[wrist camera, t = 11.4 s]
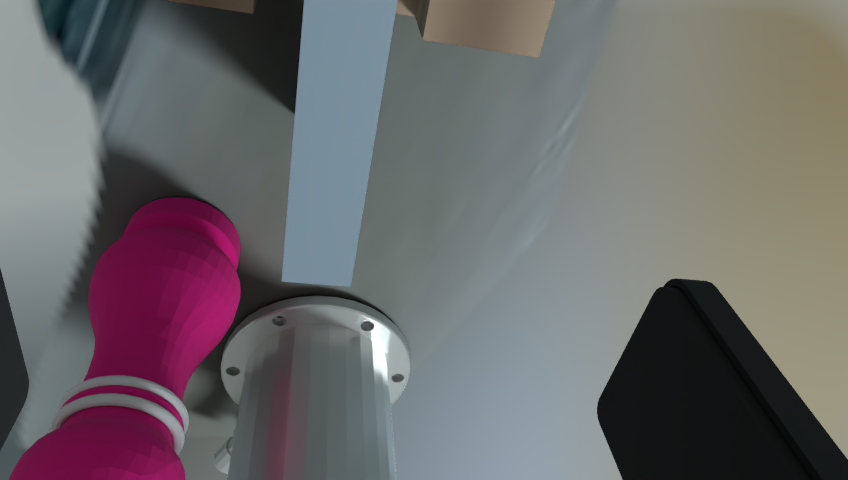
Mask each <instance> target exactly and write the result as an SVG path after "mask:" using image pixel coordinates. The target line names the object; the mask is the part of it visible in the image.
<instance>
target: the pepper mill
mask: <svg viewBox="0 0 848 480" xmlns="http://www.w3.org/2000/svg"><path fill="white" fill-rule="evenodd" d="M240 251H241V245H240V239H239V235H238V233H237V230H236V229H235V227H234V225H233V224H232V223H231V222H230V220H229V219H228V218H227V217H226V216H225V215H224V214H223V213H222V212H220V211H219V210H217V209H215V208H214V207H212V206H210V205H209V204H206V203H203V202H200V201H198V200H195V199H190V198H181V197H172V198H162V199H158V200H154V201H152V202H150V203H148V204H146V205H144V206H142V207H141V208H139V209H138V210H137V211H136V212H135V213H134V215H133V216H132V217H131V219H130V221H129V223H128V225H127V227H126V229H125V231H124V233H123V235H122V237H121V238H120V239H118V240H117V241H116V242H114V243H113V244H111V245H110V246H109V247H108V248H107V249H106V251H105V252H104V253H103V254H102V255H101V256H100V258H99V260H98V262H97V264H96V266H95V269H94V272H93V275H92V278H91V281H90V287H89V313H90V319H91V324H92V328H93V332H94V335H95V349H94V355H93V358H92V361H91V364H90V367H89V370H88V373H87V375H86V377H85V379H84V381H83V382H82V383H79V384H78V385H76V386H74V387H73V388H71V389H70V390H69V391H68V392H67V393H66V394H65V395H64V396H63V398H62V400H61V402H60V405H59V411H58V412H57V413H56V415H55V416H54V418H53V420H52V422H51V425H50V433H48V434H47V435H45V436H43V437H42V438H40V439H39V440H38V441H36V442H35V443H34V444H33V445H32V446H31V447H30V448H29V449H28V450H27V451H26V452H25V453H24V454H23V455H22V457H21V458H20V460H19V461H18V463H17V465H16V466H15V468H14V470H13V472H12V474H11V476H10V477H9V480H185V471H184V468H183V465H182V463H181V461H180V458H179V457H178V455H179V454H180V452H181V450H182V447H183V445H184V434H185V433H186V431H187V428H188V424H189V417H188V412H187V410H186V407H185V405H184V404H183V403H182V397H183V394H184V391H185V389H186V386H187V383H188V380H189V378H190V377H191V375H192V373H193V372H194V370H195V369H196V368H197V367H198V365H199V364H200V363H201V362H202V361H203V360H204V359H205V357H206V356H207V355H208V354H209V353H210V352H211V351H212V350H213V349H214V348H215V347H216V346H217V345H218V344H219V342H220V341H221V340H222V338H223V337H224V335H225V334H226V332H227V331H228V329H229V328H230V326H231V324H232V322H233V320H234V317H235V314H236V311H237V308H238V305H239V301H240V294H241V289H240V280H239V277H238V274H237V272H236V270H237V266H238V261H239V257H240Z"/></svg>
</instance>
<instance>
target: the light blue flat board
mask: <svg viewBox="0 0 848 480" xmlns="http://www.w3.org/2000/svg"><path fill="white" fill-rule="evenodd" d="M397 1H398V0H304V7H303V20H302V32H301V45H300V57H299V70H298V83H297V95H296V108H295V120H294V133H293V145H292V158H291V170H290V183H289V195H288V208H287V220H286V233H285V245H284V258H283V270H282V282H295V283H308V284H321V285H334V286H347V287H351V281H352V275H353V269H354V263H355V257H356V251H357V244H358V238H359V232H360V226H361V220H362V214H363V208H364V202H365V196H366V190H367V184H368V177H369V171H370V165H371V159H372V153H373V147H374V141H375V135H376V129H377V123H378V117H379V110H380V104H381V98H382V92H383V86H384V80H385V74H386V68H387V62H388V56H389V50H390V44H391V37H392V31H393V25H394V19H395V13H396V7H397Z"/></svg>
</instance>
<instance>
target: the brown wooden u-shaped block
mask: <svg viewBox="0 0 848 480" xmlns="http://www.w3.org/2000/svg"><path fill="white" fill-rule="evenodd" d="M165 1H172V2H178V3H185V4H191V5H198V6H204V7H211V8H218V9H224V10H231V11H237V12H244V13H250V14H254V11H255V8H256V6H257V3H258V0H165ZM555 1H556V0H398V1H397V7H396V14H402V15H408V16H415V17H416V21H417V24H418V27H419V30H420V33H421V36H422V39H423V40H427V41H433V42H440V43H447V44H453V45H460V46H466V47H473V48H479V49H486V50H492V51H499V52H505V53H512V54H519V55H525V56H532V57H538V58H539V54H540V51H541V48H542V44H543V41H544V38H545V34H546V31H547V28H548V24H549V21H550V18H551V14H552V11H553V8H554V4H555Z"/></svg>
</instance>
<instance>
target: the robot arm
mask: <svg viewBox="0 0 848 480" xmlns="http://www.w3.org/2000/svg"><path fill="white" fill-rule="evenodd" d="M409 375H410V358H409V351H408V346H407V344H406V341H405V339H404V336H403V335H402V333H401V332H400V331H399V329H398V328H397V326H396V325H395V324H394V323H393V322H391V321H390V320H389V319H388V318H387V317H386V316H385V315H383V314H381V313H380V312H378V311H376V310H375V309H373V308H371V307H369V306H366V305H364V304H361V303H358V302H356V301H352V300H348V299H343V298H338V297H329V296H306V297H296V298H292V299H287V300H283V301H279V302H276V303H273V304H271V305H268V306H266V307H263V308H261V309H259V310H258V311H256V312H255V313H253V314H251V315H250V316H248V317H247V318H246V319H244V320H243V321H242V322H241V323H240V324H239V325H238V326H237V327H236V328H235V329H234V331H233V332H232V334H231V335H230V337H229V338H228V340H227V343H226V345H225V348H224V351H223V356H222V362H221V378H222V381H223V384H224V387H225V389H226V391H227V393H228V394H229V396H230V397H231V399H232V400H233V401H234V402H235V403H236V404H237V405H238V406H239V409H238V415H237V421H236V427H235V430H234V436H233V437H230V439H229V440H228V441H227V442H226V443H225V444H224V445H223V446H222V447H221V448H220V449H219V450H218V451H217V452H216V453H215V454H214V458H213V461H214V464H215V466H216V468H217V469H218V470H219V471H221V472H223V473H225V474H228V477H227V480H397V477H396V464H395V452H394V440H393V427H392V415H391V405H392V404H393V403H394V402H395V401H396V400H397V399H398V398H399V397H400V395H401V393H402V392H403V390H404V389H405V387H406V385H407V381H408V378H409ZM28 388H29V379H28V374H27V370H26V366H25V362H24V358H23V354H22V350H21V347H20V343H19V339H18V335H17V331H16V327H15V324H14V319H13V316H12V312H11V308H10V304H9V300H8V296H7V292H6V289H5V285H4V281H3V277H2V273H1V269H0V450H1V448H2V446H3V444H4V442H5V440H6V439H7V437H8V435H9V433H10V431H11V429H12V427H13V425H14V423H15V421H16V419H17V417H18V415H19V413H20V411H21V410H22V408H23V406H24V403H25V401H26V398H27V394H28ZM597 414H598V420H599V423H600V426H601V428H602V430H603V433H604V435H605V437H606V440H607V443H608V445H609V447H610V450H611V452H612V455H613V457H614V459H615V462H616V464H617V467H618V469H619V471H620V474H621V476H622V479H623V480H848V459H847V458H846V457H845V455H844V454H843V453H842V452H841V451H840V449H839V448H838V446H837V445H836V444H835V442H834V441H833V440H832V439H831V437H830V436H829V434H828V433H827V432H826V431H825V429H824V428H823V427H822V425H821V424H820V423H819V421H818V420H817V419H816V418H815V416H814V415H813V414H812V412H811V411H810V410H809V408H808V407H807V406H806V405H805V403H804V402H803V400H802V399H801V398H800V397H799V395H798V394H797V393H796V391H795V390H794V389H793V387H792V386H791V385H790V383H789V382H788V381H787V379H786V378H785V377H784V376H783V374H782V373H781V372H780V370H779V369H778V368H777V366H776V365H775V364H774V362H773V361H772V360H771V359H770V357H769V356H768V355H767V353H766V352H765V351H764V349H763V348H762V347H761V345H760V344H759V343H758V341H757V340H756V339H755V338H754V336H753V335H752V334H751V332H750V331H749V330H748V328H747V327H746V326H745V324H744V323H743V322H742V320H741V319H740V318H739V317H738V315H737V314H736V313H735V311H734V310H733V309H732V307H731V306H730V305H729V304H728V302H727V301H726V299H725V298H724V297H723V295H722V294H721V293H720V292H719V290H718V289H717V288H716V287H715V286H714V285H713V284H712V283H710V282H707V281H699V280H686V279H671V280H670V281H668V282H667V283H666V284H665V285H664V287H660V288H658V289H657V290H656V291H655V293H654V294H653V296H652V298H651V300H650V301H649V304H648V306H647V307H646V309H645V311H644V313H643V315H642V317H641V319H640V321H639V323H638V325H637V327H636V329H635V331H634V333H633V334H632V336H631V338H630V340H629V342H628V344H627V346H626V348H625V350H624V352H623V354H622V356H621V358H620V360H619V361H618V363H617V365H616V367H615V369H614V371H613V373H612V375H611V377H610V379H609V381H608V383H607V385H606V387H605V389H604V391H603V392H602V395H601V397H600V398H599V401H598V406H597Z"/></svg>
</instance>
